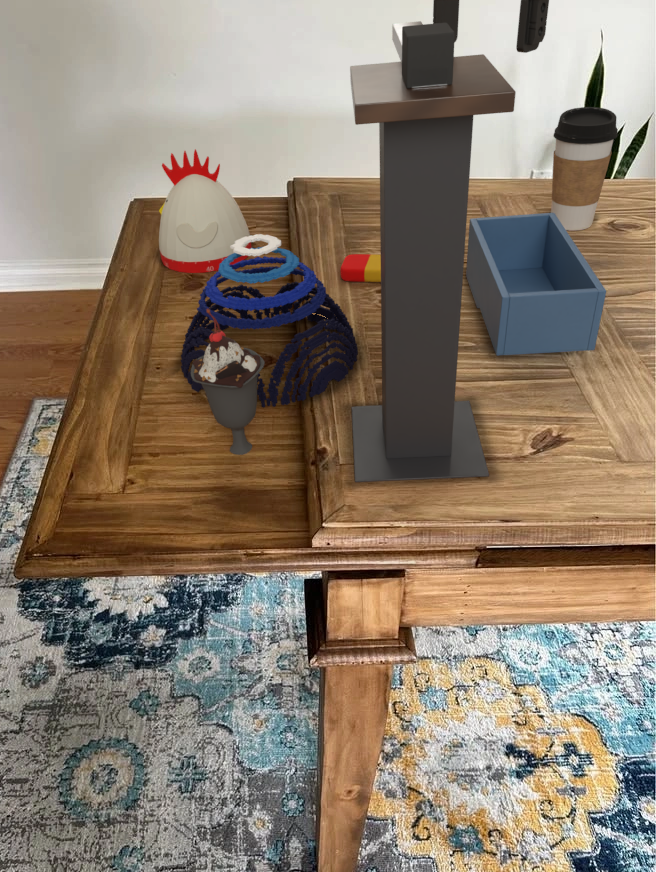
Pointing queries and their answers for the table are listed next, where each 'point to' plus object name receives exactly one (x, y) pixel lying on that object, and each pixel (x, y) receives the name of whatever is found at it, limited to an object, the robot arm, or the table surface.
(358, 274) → the popsicle
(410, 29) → the long rectangular bar
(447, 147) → the shelf stand
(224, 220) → the kitchen timer
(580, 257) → the bin
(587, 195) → the coffee cup
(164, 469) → the table surface
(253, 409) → the sundae
